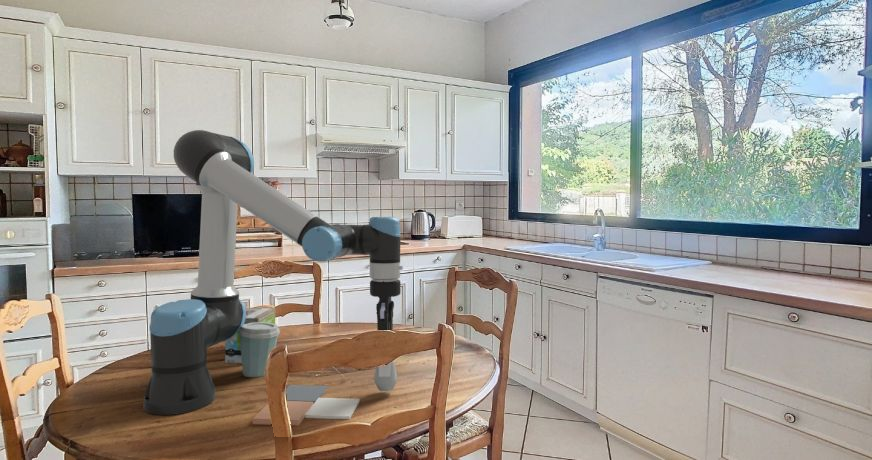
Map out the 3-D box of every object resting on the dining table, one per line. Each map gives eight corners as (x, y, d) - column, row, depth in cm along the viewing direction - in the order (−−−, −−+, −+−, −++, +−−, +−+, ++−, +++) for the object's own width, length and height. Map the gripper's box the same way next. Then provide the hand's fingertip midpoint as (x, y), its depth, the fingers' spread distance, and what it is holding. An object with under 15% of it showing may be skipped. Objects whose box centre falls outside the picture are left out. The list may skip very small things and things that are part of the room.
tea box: (258, 368, 144) (258, 317, 143) (224, 367, 144) (223, 317, 143) (276, 352, 159) (275, 307, 158) (244, 352, 159) (244, 306, 158)
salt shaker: (393, 393, 120) (393, 340, 119) (370, 391, 121) (370, 338, 121) (400, 385, 126) (400, 334, 125) (378, 383, 127) (378, 333, 126)
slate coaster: (274, 404, 118) (274, 399, 118) (289, 389, 128) (289, 384, 128) (315, 406, 117) (315, 401, 117) (327, 390, 127) (327, 385, 127)
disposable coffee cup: (236, 371, 140) (238, 319, 138) (276, 368, 144) (278, 318, 142) (236, 386, 130) (238, 331, 128) (279, 383, 134) (282, 329, 132)
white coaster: (304, 420, 109) (304, 414, 109) (318, 402, 119) (318, 397, 119) (349, 421, 109) (349, 416, 109) (359, 403, 119) (359, 398, 119)
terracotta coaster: (252, 424, 106) (252, 418, 106) (271, 405, 116) (271, 400, 116) (298, 425, 105) (298, 419, 105) (313, 406, 115) (313, 401, 115)
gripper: (397, 284, 114) (397, 385, 115) (403, 274, 130) (403, 363, 131) (364, 284, 114) (365, 384, 115) (374, 274, 131) (375, 362, 132)
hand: (385, 373), depth 123 cm, fingers closed on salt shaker, 3 cm apart
